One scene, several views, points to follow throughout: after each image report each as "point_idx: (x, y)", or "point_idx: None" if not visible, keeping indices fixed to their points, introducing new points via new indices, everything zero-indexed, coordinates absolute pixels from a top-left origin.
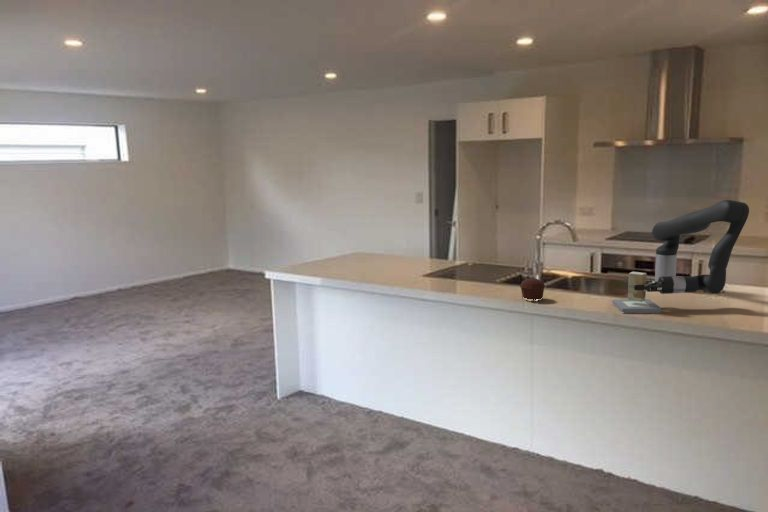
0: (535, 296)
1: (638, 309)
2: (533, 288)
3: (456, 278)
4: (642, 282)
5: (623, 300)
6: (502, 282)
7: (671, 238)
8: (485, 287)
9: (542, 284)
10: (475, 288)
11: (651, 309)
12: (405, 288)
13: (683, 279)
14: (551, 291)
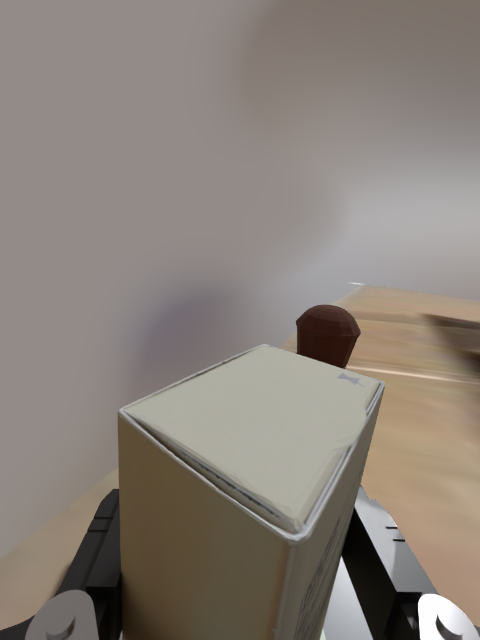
0: (299, 345)
1: None
2: (297, 322)
3: (443, 326)
4: (122, 540)
5: (350, 602)
6: (470, 353)
7: None
8: (397, 335)
9: (322, 323)
10: (379, 329)
11: None
12: (337, 302)
13: None
14: (451, 397)
